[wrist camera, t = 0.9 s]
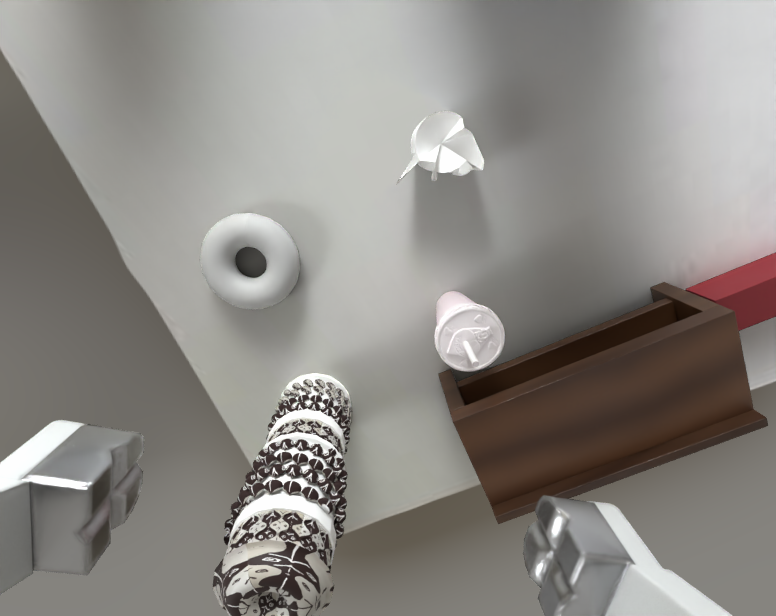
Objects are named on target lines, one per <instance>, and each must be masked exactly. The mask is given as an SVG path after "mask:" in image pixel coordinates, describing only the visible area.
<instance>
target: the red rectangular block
mask: <svg viewBox="0 0 776 616" xmlns="http://www.w3.org/2000/svg"><path fill="white" fill-rule="evenodd" d="M686 291H687V292H690V293H692V294H695V295H697V296H699V297H702V298H704V299H707V300H709V301H712V302H714V303H717V304H719V305H721V306H724V307H726V308H729V309H731V310H733V311H735V315H736V320H737V326H738V331H740V330H742V329H745V328H747V327H750V326H753V325H755V324H758V323H760V322H763V321H765V320H768V319H771V318H773V317H776V253H774V254H771V255H769V256H766V257H764V258H761V259H759V260H756V261H754V262H751V263H749V264H746V265H744V266H741V267H739V268H736V269H734V270H731V271H729V272H726V273H724V274H721V275H719V276H717V277H714V278H712V279H709V280H707V281H704V282H702V283H699V284H697V285H694V286H692V287H689V288H687V289H686Z"/></svg>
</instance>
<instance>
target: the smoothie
mask: <svg viewBox="0 0 776 616" xmlns="http://www.w3.org/2000/svg"><path fill="white" fill-rule="evenodd" d="M436 320H437V327H436V330H435V335H434V340H435V346H436V349H437V352H438V353H439V355H440V357H441V359H442V360H443V361H444V362H445V363H446V364H447V365H448V366H450V367H452V368H454V369H456V370H460V371H468V372H469V371H477V370H480V369H483V368H485V367H487V366H489V365H490V364H491V363H493V362H494V361H495V360H496V359H497V358H498V356H499V355H500V353H501V352H502V349H503V347H504V343H505V331H504V327H503V325H502V323H501V321H500V319H499V318H498V316H497V315H496V314H495V313H494V312H493V311H492V310H490V309H489V308H487V307H485V306H482V305H479V304H476V303H475V302H473V301H472V300H470V299H469V298H468V297H466V296H465V295H463V294H462V293H460V292H457V291H450V292H447V293H445V294H443V295H442V296H441V297H440V298H439V299H438V301H437V304H436Z"/></svg>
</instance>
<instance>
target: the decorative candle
mask: <svg viewBox="0 0 776 616" xmlns="http://www.w3.org/2000/svg"><path fill="white" fill-rule="evenodd" d="M278 403H279V405H280V406H276V407H275V411H276V414H274V415H273V416H272V422H271V423H270V424H269V425H268V430H269V431H270V433H269V434H268V435H267V438H266V440H267V443H266V444H265V446H264V447H263V449H262V450H261V451H260V452H259V454H258V456H257V458H256V460H254V462H253V466H252V472H249V473H248V474H247V475H246V481H245V486H244V487H242V488H241V490H240V494H239V496H238V499H237V500H238V502H235V503H234V504H232V506H231V512H232V513H231V515H232V518H231V519H229V520H227V521H226V522H225V530H226V531H227V532H228V533H227V534H226V535H225V537H224V541H225V544H226V545H228V548H227V551H226V554H225V556H224V558H223V559H222V561H221V562H220V564H219V565H218V567H217V568H216V569H215V571H214V580H213V590H214V593H215V595H216V597H217V599H218V602H219V604H220V606H221V607H223V608H224V609H225V610H226V611H227V613H228V615H229V616H319V615H320V614H321V613H322V612H323V611H324V610H325V608H326V607H327V606H328V605H329V604H330V602H331V598H332V593H333V589H334V583H333V580H332V577H331V573H330V569H331V565H332V561H333V556H334V551H335V548H336V545H337V540H336V539H338V538H340V537H341V536H342V535H343V533H344V527H343V525H342V523H343V521H344V520H345V519H346V513H345V511H344V509H345V508H346V506H347V501H346V499H345V498H344V494H343V493H344V491H345V489H346V487H347V484H346V482H345V480H346V479H347V475H348V474H347V472H346V469H345V464H344V460H343V457H344V454H345V453H346V452H347V447H346V446H345V445H346V444H348V442H349V440H350V438H349V436H348V434H349V433H350V428H349V426H350V424H351V421H352V420H351V416H352V410H351V407H352V403H351V399H350V395H349V392H348V391H347V390H346V388H345V387H344V386H343V385H342V383H341V382H339V381H338V380H336V379H334V378H332V377H331V376H329V375H324V374H318V373H312V374H306V375H301V376H299V377H298V378H296V379H294V380H293V381H291V382H290V383H289V384H288V385H287V387H286V388H285V390H284V391H283V393H282V395H281V399H279V400H278ZM241 509H242V510H243V511H242V512H241V514H239V512H240V510H241ZM336 515H337V516H336ZM335 516H336V518H335V520H334V517H335ZM335 526H336V527H335Z"/></svg>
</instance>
